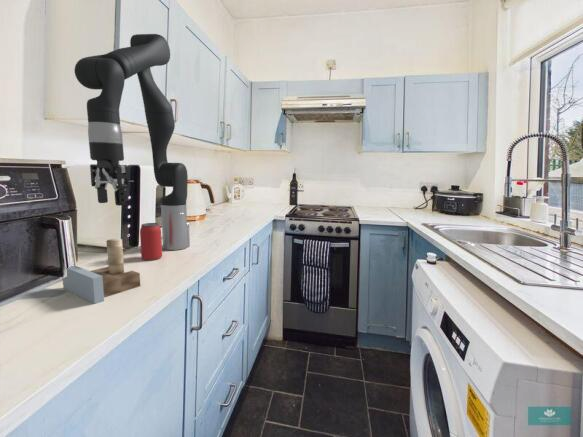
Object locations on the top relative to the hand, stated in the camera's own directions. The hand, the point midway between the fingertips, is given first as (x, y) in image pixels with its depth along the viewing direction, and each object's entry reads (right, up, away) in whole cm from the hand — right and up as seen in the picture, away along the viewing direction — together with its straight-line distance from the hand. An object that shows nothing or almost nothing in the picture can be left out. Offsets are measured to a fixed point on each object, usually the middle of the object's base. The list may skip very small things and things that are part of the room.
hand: (111, 204), depth 80 cm
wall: (-2, -22, -7) cm, 24 cm away
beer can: (0, -18, +24) cm, 30 cm away
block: (+1, -22, -2) cm, 22 cm away
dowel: (+2, -21, -1) cm, 22 cm away
